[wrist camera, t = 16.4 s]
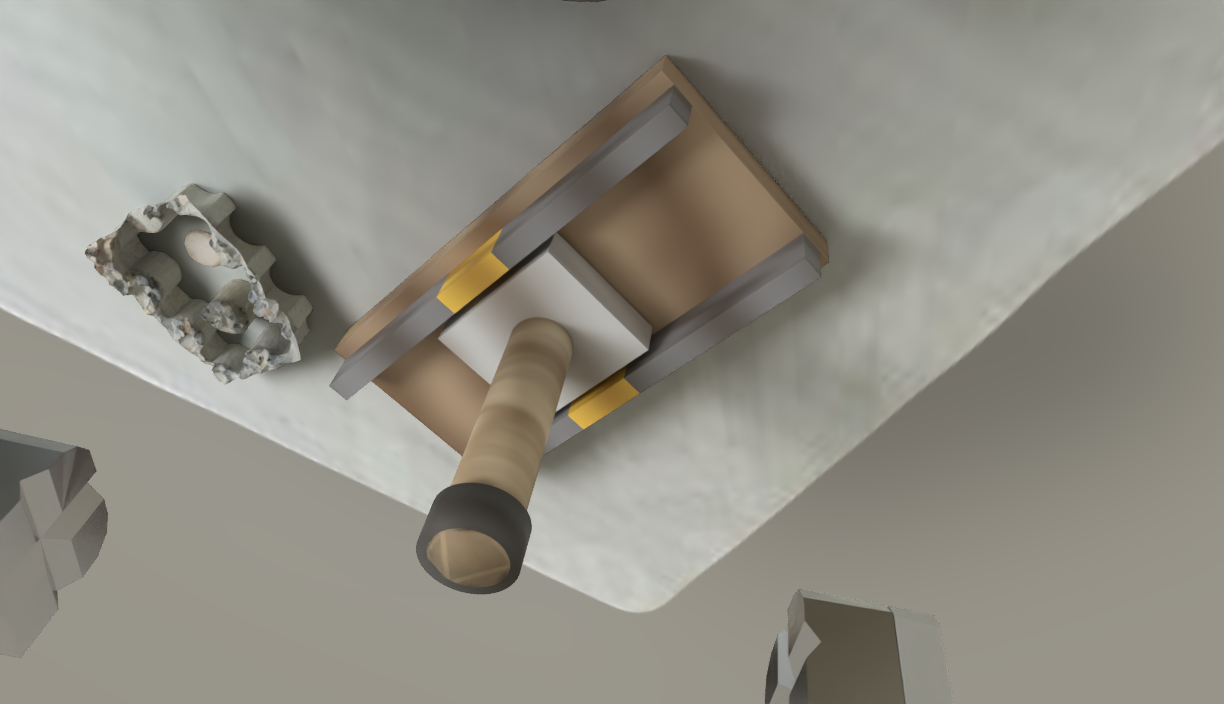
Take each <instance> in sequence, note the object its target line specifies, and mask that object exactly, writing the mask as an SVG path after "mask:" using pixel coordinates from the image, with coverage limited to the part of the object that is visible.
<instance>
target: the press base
mask: <svg viewBox="0 0 1224 704" xmlns="http://www.w3.org/2000/svg"><path fill="white" fill-rule="evenodd" d="M556 232H557V233H558V234H559V235H560V236H561V237H562V238H563V239H564V240H565V241H566V242H567V243H568V244H569V245H570V246H571V247H572V248H573V249H574V250H575V251H576V252H577V253H578V254H579V255H580V256H581V257H582V258H583V259H584V260H585V261H586V262H587V263H588V264H589V265H590V266H592V267H593V268H594V269H595V270H596V271H597V272H598V273H599V274H600V275H601V276H602V277H603V278H604V279H605V280H606V281H607V282H608V283H609V284H610V285H611V286H612V287H613V288H614V289H615V290H616V291H617V292H618V293H619V294H620V295H621V296H622V297H623V298H624V299H625V300H626V301H627V302H628V303H629V304H630V305H631V306H632V307H633V308H634V309H635V310H636V311H637V312H638V313H639V314H640V315H641V316H642V317H643V318H644V319H645V320H646V321H647V322H648V323H649V324H650V325H651V326H652V333H651V338H650V344H649V350H648V351H646V352H645V353H643V354H642V355H640V356H639V357H637V358H636V359H634V360H633V361H631V362H630V363H628V364H627V365H625V366H624V367H622V368H621V369H619V370H618V371H616V372H615V373H613V374H612V375H610V376H609V377H607V378H606V379H604V380H603V381H601V382H600V383H598V384H597V385H595V386H594V387H592V388H591V389H589V390H588V391H586V392H585V393H583V394H582V395H580V396H579V397H577V398H576V399H574V400H573V401H571V402H570V403H568V404H567V405H565V406H564V407H562V408H561V409H559V410H558V411H556V412H555V416H554V419H553V422H552V426H551V429H550V433H549V436H548V440H547V443H546V446H545V450H544V453H543V455H545V454H546V453H548V452H549V451H551V450H553V449H554V448H556V447H557V446H559V445H560V444H562V443H563V442H565V441H567V440H568V439H570V438H571V437H573V436H574V435H576V434H578V433H579V432H581V431H582V430H584V429H585V428H587V427H588V426H590V425H592V424H593V423H595V422H596V421H598V420H599V419H601V418H602V417H604V416H606V415H607V414H609V413H610V412H612V411H613V410H615V409H616V408H618V407H620V406H621V405H623V404H624V403H626V402H627V401H629V400H630V399H632V398H634V397H635V396H637V395H638V394H640V393H641V392H643V391H644V390H646V389H648V388H649V387H651V386H652V385H654V384H655V383H657V382H658V381H660V380H662V379H663V378H665V377H666V376H668V375H669V374H671V373H672V372H674V371H676V370H677V369H679V368H680V367H682V366H683V365H685V364H686V363H688V362H690V361H691V360H693V359H694V358H696V357H697V356H699V355H700V354H702V353H704V352H705V351H707V350H708V349H710V348H711V347H713V346H715V345H716V344H718V343H719V342H721V341H722V340H724V339H725V338H727V337H729V336H730V335H732V334H733V333H735V332H736V331H738V330H739V329H741V328H743V327H744V326H746V325H747V324H749V323H750V322H752V321H753V320H755V319H757V318H758V317H760V316H761V315H763V314H764V313H766V312H767V311H769V310H771V309H772V308H774V307H775V306H777V305H778V304H780V303H781V302H783V301H785V300H786V299H788V298H789V297H791V296H792V295H794V294H795V293H797V292H799V291H800V290H802V289H803V288H805V287H806V286H808V285H809V284H811V283H813V282H814V281H816V280H817V279H819V278H820V277H821V267H822V266H824V265H825V264H827V263H829V256H828V247H827V241H826V240H825V239H824V238H823V236H822V235H821V234H820V233H819V232H818V231H817V229H816V228H815V227H814V226H813V225H812V224H811V223H810V221H809V220H808V219H807V218H806V217H805V216H804V214H803V213H802V212H801V211H800V210H799V209H798V207H797V206H796V205H795V204H794V203H793V202H792V201H791V199H790V198H789V197H788V196H787V195H786V194H785V192H784V191H783V190H782V189H781V188H780V187H779V185H778V184H777V183H776V182H775V181H774V180H773V179H772V177H771V176H770V175H769V174H768V173H767V172H766V170H765V169H764V168H763V167H762V166H761V165H760V164H759V162H758V161H757V160H756V159H755V158H754V157H753V155H752V154H751V153H750V152H749V151H748V150H747V148H746V147H745V146H744V145H743V144H742V143H741V142H740V140H739V139H738V138H737V137H736V136H735V135H734V133H733V132H732V131H731V130H730V129H729V128H728V126H727V125H726V124H725V123H724V122H723V121H722V120H721V118H720V117H719V116H718V115H717V114H716V113H715V111H714V110H713V109H712V108H711V107H710V106H709V104H708V103H707V102H706V101H705V100H704V99H703V98H702V96H701V95H700V94H699V93H698V92H697V91H696V89H695V88H694V87H693V86H692V85H691V84H690V82H689V81H688V80H687V79H686V78H685V77H684V76H683V74H682V73H681V72H680V71H679V70H678V69H677V67H676V66H675V65H674V64H673V63H672V62H671V61H670V59H669V58H668V57H667V56H666V55H665V56H664V57H663V58H662V59H661V60H660V61H659V62H657V63H656V64H655V65H654V66H653V67H652V68H650V69H649V70H648V71H647V72H646V73H645V74H643V75H642V76H641V77H640V78H639V79H638V80H636V81H635V82H634V83H633V84H632V85H631V86H630V87H628V88H627V89H626V90H625V91H624V92H623V93H621V94H620V95H619V96H618V97H617V98H616V99H614V100H613V101H612V102H611V103H610V104H609V105H608V106H606V107H605V108H604V109H603V110H602V111H601V112H599V113H598V114H597V115H596V116H595V117H594V118H592V119H591V120H590V121H589V122H588V123H587V124H586V125H584V126H583V127H582V128H581V129H580V130H579V131H577V132H576V133H575V134H574V135H573V136H572V137H570V138H569V139H568V140H567V141H566V142H565V143H563V144H562V145H561V146H560V147H559V148H558V149H557V150H555V151H554V152H553V153H552V154H551V155H550V156H548V157H547V158H546V159H545V160H544V161H543V162H541V163H540V164H539V165H538V166H537V167H536V168H535V169H533V170H532V171H531V172H530V173H529V174H528V175H526V176H525V177H524V178H523V179H522V180H521V181H519V182H518V183H517V184H516V185H515V186H514V187H512V188H511V189H510V190H509V191H508V192H507V193H506V194H504V195H503V196H502V197H501V198H500V199H499V200H497V201H496V202H495V203H494V204H493V205H492V206H490V207H489V208H488V209H487V210H486V211H485V212H484V213H482V214H481V215H480V216H479V217H478V218H477V219H475V220H474V221H473V222H472V223H471V224H470V225H468V226H467V227H466V228H465V229H464V230H463V231H462V232H460V233H459V234H458V235H457V236H456V237H455V238H453V239H452V240H451V241H450V242H449V243H448V244H446V245H445V246H444V247H443V248H442V249H441V250H439V251H438V252H437V253H436V254H435V255H434V256H433V257H431V258H430V259H429V260H428V261H427V262H426V263H424V264H423V265H422V266H421V267H420V268H419V269H417V270H416V271H415V272H414V273H413V274H412V275H411V276H409V277H408V278H407V279H406V280H405V281H404V282H402V283H401V284H400V285H399V286H398V287H397V288H395V289H394V290H393V291H392V292H391V293H390V294H389V295H387V296H386V297H385V298H384V299H383V300H382V301H380V302H379V303H378V304H377V305H376V306H375V307H373V308H372V309H371V310H370V311H369V312H368V313H366V314H365V315H364V316H363V317H362V318H361V319H360V320H358V321H357V322H356V323H355V324H354V325H353V326H351V327H350V328H349V329H348V330H347V331H346V333H345V335H344V336H343V338H342V339H341V341H340V342H339V344H338V345H337V347H336V348H335V351H336V352H337V353H338V354H340V355H341V356H342V357H343V358H344V359H346V360H345V361H344V363H343V365H342V366H341V368H340V369H339V371H338V373H337V374H336V376H335V378H334V379H333V381H332V382H331V384H330V387H331V388H332V389H333V390H335V391H336V392H337V393H338V394H340V395H341V396H342V397H343V398H345V399H346V400H348V399H349V398H350V397H351V396H353V395H354V394H355V393H356V392H358V391H359V390H360V389H361V388H363V387H364V386H365V385H366V384H368V383H369V382H370V381H372V382H373V383H375V384H376V385H377V386H378V387H379V388H381V389H382V390H383V391H384V392H385V393H387V394H388V395H389V396H390V397H391V398H393V399H394V400H395V401H396V402H398V403H399V404H400V405H401V406H402V407H404V408H405V409H406V410H407V411H408V412H410V413H411V414H412V415H413V416H414V417H416V418H417V419H418V420H419V421H420V422H422V423H423V424H424V425H425V426H427V427H428V428H429V429H430V430H431V431H433V432H434V433H435V434H436V435H437V436H439V437H440V438H441V439H442V440H443V441H445V442H446V443H447V444H448V445H449V446H451V447H452V448H453V449H454V450H455V451H457V452H458V453H459V454H460V455H462V456H463V454H464V451H465V449H466V446H467V444H468V441H469V439H470V436H471V434H472V431H473V429H474V426H475V424H476V421H477V418H478V416H479V413H480V411H481V408H482V406H483V403H484V401H485V398H486V396H487V393H488V391H489V388H490V386H491V385H490V384H489V383H488V382H487V381H485V380H484V379H483V378H482V377H481V376H480V375H479V374H477V373H476V372H475V371H474V370H473V369H472V368H471V367H469V366H468V365H467V364H466V363H465V362H464V361H463V360H461V359H460V358H459V357H458V356H457V355H456V354H455V353H453V352H452V351H451V350H450V349H449V348H448V347H447V346H446V345H444V344H443V343H442V342H441V341H440V340H439V339H438V338H439V336H440V334H441V332H442V330H443V328H444V326H445V324H446V322H447V320H448V319H449V318H450V317H451V316H452V315H454V314H455V313H456V312H457V311H459V310H460V309H461V308H462V307H464V306H465V305H466V304H467V303H469V302H470V301H471V300H472V299H474V298H475V297H476V296H477V295H479V294H480V293H481V292H482V291H484V290H485V289H486V288H487V287H489V286H490V285H491V284H492V283H494V282H495V281H496V280H497V279H499V278H500V277H501V276H502V275H504V274H505V273H506V272H507V271H508V270H510V269H511V268H512V267H513V266H515V265H516V264H517V263H518V262H520V261H521V260H522V259H523V258H525V257H526V256H527V255H528V254H530V253H531V252H532V251H533V250H535V249H536V248H537V247H538V246H540V245H541V244H542V243H543V242H545V241H546V240H547V239H548V238H550V237H551V236H552V235H553V234H555V233H556Z"/></svg>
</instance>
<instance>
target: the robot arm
mask: <svg viewBox="0 0 1224 704" xmlns="http://www.w3.org/2000/svg"><path fill="white" fill-rule="evenodd" d="M95 472H96V468H95V465H94V462H93V459H92V456H91V453H90V451H89V450H88V449H85V448H81V447H78V446H74V445H70V444H65V443H61V442H56V441H52V440H48V439H43V438H38V437H34V436H30V435H26V434H21V433H17V432H12V431H8V430H3V429H0V654H1V655H6V656H12V657H18V658H21V657H22V656H23V655H24V653H25V652H26V651H27V649H28V648H29V647H30V645H31V644H32V643H33V642H34V640H35V639H36V638H37V636H38V635H39V634H40V633H41V631H42V630H43V629H44V627H45V626H46V625H47V623H48V622H49V621H50V620H51V618H52V617H53V616H54V614H55V613H56V612H57V610H58V594H57V591H58V590H60V589H61V588H63V587H65V586H67V585H69V584H71V583H73V582H75V581H77V580H79V579H81V578H83V576H84V575H85V574H86V572H87V571H88V569H89V568H90V567H91V565H92V564H93V563H94V561H95V560H96V558H97V557H98V555H99V552H100V549H101V547H102V544H103V542H104V539H105V536H106V534H107V522H108V512H107V508H106V505H105V501H104V498H103V497H102V496H101V495H100V494H99V493H98V492H97V491H96V490H95V489H94V488H93V487H92V486H91V485H90V484H89V483H88V481H89V480H90V478H91V477H92V476H93V475H94V474H95ZM765 704H955V703H954V698H953V692H952V687H951V681H950V676H949V671H948V666H947V661H946V655H945V650H944V644H943V639H942V634H941V629H940V624H939V622H938V621H937V619H936V618H935V616H934V615H931V614H926V613H921V612H915V611H911V610H906V609H900V608H896V607H890V606H888V607H886V606H885V605H884V604H878V603H873V602H867V601H862V600H856V599H851V598H846V597H841V596H835V595H830V594H825V593H819V592H814V591H808V590H803V589H799V590H798V591H797V592H796V593H795V594H794V596H793V598H792V600H791V603H790V605H789V608H788V629H787V630H785V631H783V632H781V633H779V634H778V635H777V638H776V641H775V644H774V647H773V650H772V652H771V657H770V661H769V666H768V671H767V677H766V689H765Z"/></svg>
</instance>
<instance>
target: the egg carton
mask: <svg viewBox="0 0 1224 704" xmlns="http://www.w3.org/2000/svg"><path fill="white" fill-rule="evenodd" d="M235 209H236V207H235V206H234V204H233V202H232V201H231V200H230V199H229V197H228V196H227V195H226V194H225V193H217V194H214V193H208V192H206V191H204V190H202V189H200V188H199V187H198V186H196V185H195V184H189V185H186V186H183V187H181V188H180V189H179V190H178V191H177V192H175V193H174V194H173V195H172V196H171V197H169V198H168V199H167V200H166V201H165V202H163V203H160V204H158V205H156V206H155V207H153V208H151V207H150V206H145V207H142V208H140V209H137V210H134V211H132V212H130V213H129V214H128V215H127V218H126V220H125V221H124V222H123V223H122V224H121V225H119V226H118V227H116V228H115V230H114V232H113V233H111V234H110V235H108V236H106V237H103V238H100V239H99V240H97V241H96V242H94V243H92V244H91V245H89V246H88V247H87V250H86V251H85V254H86V256H87V258H88V259H89V260H91V261H93V262H94V263H95V269H96V270H97V271H98V272H99V273H100V274H101V275H103V276H104V277H106V279H107V281H108V282H109V284H110V285H111V286H113V287H114V288H115V289H117V290H118V291H120V292H121V293H122V295H123V296H124V295H131V294H132V295H133V296H134V297H135V298H136V299H137V301H138V302H139V303H140V305H141V306H142V308H143V310H144V311H145V312H146V314H148V315H152V316H154V317H155V318H156V319H157V320H158V321H159V322H160V323H161V324H162V325H163V326H164V327H165V328H166V329H167V330H168V332H169V333H170V335H171V336H172V338H173V339H174V340H175V341H176V342H178V343H179V344H180V345H182V346H183V347H184V348H185V349H187V350H188V351H189V352H191V353H192V354H194V355H196V356H198V357H199V359H200V360H201V361H202V362H204V363H206V364H209V365H212V366H214V367H213V369H212V371H213V373H214V376H215V377H216V378H217V379H218V380H219V381H221V382H223V384H224V385H225V384H227V383H229V382H231V381H232V380H234V379H236V378H239V377H240V379H246V378H248V377H250V376H252V375H254V374H256V373H263V372H266V371H268V370H274V369H277V368H279V367H281V366H283V365H284V364H286V363H294V362H296V361H299V360H301V357H300V352H299V348H298V346H299V345H300V344H301V342H302V341H303V340H304V337H305V336H306V335H307V334H308V332H309V331H310V330H309V328H308V326H307V322H306V318H307V316H308V315H309V314H310V313H311V311H312V309H313V306H312V305H311V304H310V302H309V301H308V300H307V299H306V297H305V296H304V295H291V294H287V293H284V292H282V291H281V290H279V289H278V288H277V287H276V286H275V285H274V283H273V282H272V280H271V278H270V275H269V271H270V267H271V266H272V264H273V263H274V262H275V261H276V259H275V257H274V256H273V254H272V253H271V252H270V251H269V249H268V248H267V247H266V246H265V245H256V246H255V245H250V244H247V243H245V242H243V241H242V240H241V239H239V238H238V237H237V236H236V235H235V234H234V233H233V231H232V229H231V226H230V222H229V218H230V215H231V212H233V211H234V210H235ZM178 214H179V215H189V216H197V217H199V218H201V219H203V220H204V221H206V222H207V224H208V225H209V227H210V230H211V232H212V234H210V233H208V232H206V231H202V230H193V231H191V232H189V233H188V234H187V236H186V238H185V241H184V244H185V248H186V250H187V252H188V254H189V255H190V256H191V257H192V259H193V260H195V261H196V262H198V263H200V264H202V265H205V266H212V267H214V266H218V265H219V264H220V265H221V266H225V267H229V268H232V269H235V268H237V267H240V266H242V265H243V266H244V268H245V269H246V275H247V277H248V278H249V279H250V283H249V282H247V281H244V280H240V279H237V280H232V281H230V282H228V284H227V285H226V286H225V287H224V288H223V289H222V290H221V291H220V292H219V293H218V294H217V295H216V297H215V298H214V299H213V300H212V301H211V302H210V303H208V302H206V301H204V300H200V299H191V298H189V296H188V295H187V294H186V293H184V292H183V291H182V290H181V289H180V288H179V287H178V286H177V285H178V284H179V282H180V281H181V278H182V274H181V269H180V267H179V265H178V264H177V262H176V261H175V260H174V259H172V258H171V257H170V256H168V255H167V254H165V253H163V252H157V251H148V250H147V249H146V248H145V247H144V246H143V245H142V243H141V242H140V241H139V239H138V236H137V235H138V233H139V232H148V233H158V232H159V231H161V230H163V229H164V228H165V227H166V226H167V225H168V224H169V223H170V222H171V221H172V220H173V219H174V218H175V217H176V216H177V215H178ZM253 278H255V279H256V283H253V282H252V281H251V280H252V279H253ZM256 316H258V317H264V318H265V319H266V320H269V322H270V324H271V323H282V324H283V327H279V326H270V327H267V328H266V329H265V330H264V331H263V332H262V334H261V335H260V337H259V338H258V339H257V341H256V342H255V343H254V345H253V346H252V347H251V349H250V350H249V349H247V348H246V347H244V346H242V345H240V344H235V343H233V344H227V343H226V342H225V341H224V340H223V339H222V338H221V337H220V336H219V335H218V333H217V332H216V330H217V329H219V330H220V331H223V332H227V333H231V334H236V333H237V334H242V333H243V332H245V331H246V329H247V328H248V326H249V325H250V324H251V322H252V321H253V320H254V319H255V317H256Z"/></svg>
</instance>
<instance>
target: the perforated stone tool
mask: <svg viewBox="0 0 1224 704" xmlns="http://www.w3.org/2000/svg"><path fill="white" fill-rule="evenodd" d="M564 1H577V2H581V1H582V2H584V1H585V2H586V1H588V2H589V1H590V2H593V1H595V2H600V1H604V0H564Z"/></svg>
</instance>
